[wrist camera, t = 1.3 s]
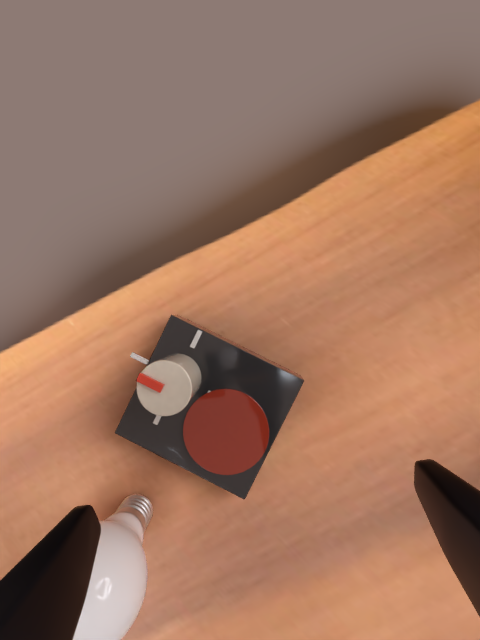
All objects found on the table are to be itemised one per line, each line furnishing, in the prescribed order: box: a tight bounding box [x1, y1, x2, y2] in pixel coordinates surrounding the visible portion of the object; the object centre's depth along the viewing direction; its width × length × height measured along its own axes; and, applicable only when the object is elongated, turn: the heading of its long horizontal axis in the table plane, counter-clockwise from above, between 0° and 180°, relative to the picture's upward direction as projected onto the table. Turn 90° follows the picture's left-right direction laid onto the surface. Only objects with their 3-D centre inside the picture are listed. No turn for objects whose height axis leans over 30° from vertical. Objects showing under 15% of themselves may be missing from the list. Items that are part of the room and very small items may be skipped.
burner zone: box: [183, 389, 269, 475], centre depth 24 cm, size 6×6×1 cm
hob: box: [115, 315, 304, 499], centre depth 25 cm, size 10×12×2 cm
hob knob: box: [136, 354, 201, 416], centre depth 22 cm, size 4×4×4 cm
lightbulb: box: [73, 494, 153, 640], centre depth 21 cm, size 6×6×11 cm
